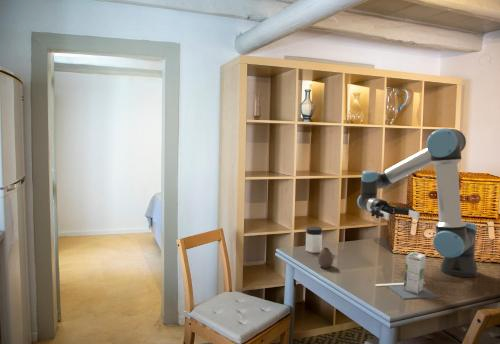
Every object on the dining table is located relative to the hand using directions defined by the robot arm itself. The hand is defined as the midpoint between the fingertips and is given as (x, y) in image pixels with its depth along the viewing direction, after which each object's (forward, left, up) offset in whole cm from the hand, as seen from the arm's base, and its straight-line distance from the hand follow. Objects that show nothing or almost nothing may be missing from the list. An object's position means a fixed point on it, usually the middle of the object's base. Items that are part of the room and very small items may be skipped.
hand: (403, 216), depth 168 cm
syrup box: (0, +10, -28) cm, 29 cm away
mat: (+1, +10, -28) cm, 30 cm away
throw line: (+1, +2, -28) cm, 28 cm away
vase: (+24, -23, -28) cm, 44 cm away
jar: (+21, -48, -28) cm, 60 cm away
